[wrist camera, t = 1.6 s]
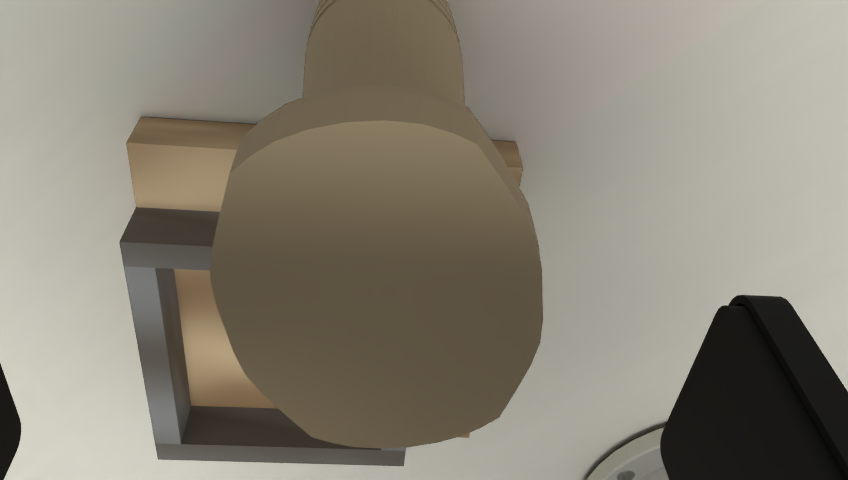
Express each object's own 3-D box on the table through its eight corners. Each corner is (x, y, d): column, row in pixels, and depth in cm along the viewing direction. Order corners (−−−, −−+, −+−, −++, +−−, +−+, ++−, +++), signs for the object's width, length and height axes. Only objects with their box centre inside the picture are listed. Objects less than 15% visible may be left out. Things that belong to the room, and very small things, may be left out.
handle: (327, 93, 25) (273, 460, 13) (285, -111, 22) (157, 144, 10) (469, 75, 25) (545, 432, 13) (452, -133, 21) (538, 99, 9)
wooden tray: (465, 406, 35) (472, 475, 32) (179, 396, 34) (159, 467, 31) (515, 141, 27) (532, 200, 24) (141, 116, 26) (107, 175, 23)
